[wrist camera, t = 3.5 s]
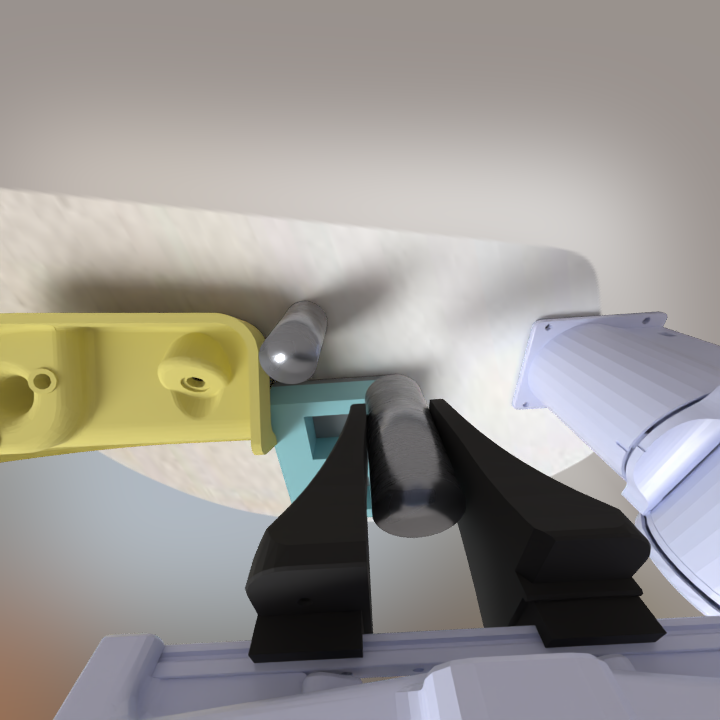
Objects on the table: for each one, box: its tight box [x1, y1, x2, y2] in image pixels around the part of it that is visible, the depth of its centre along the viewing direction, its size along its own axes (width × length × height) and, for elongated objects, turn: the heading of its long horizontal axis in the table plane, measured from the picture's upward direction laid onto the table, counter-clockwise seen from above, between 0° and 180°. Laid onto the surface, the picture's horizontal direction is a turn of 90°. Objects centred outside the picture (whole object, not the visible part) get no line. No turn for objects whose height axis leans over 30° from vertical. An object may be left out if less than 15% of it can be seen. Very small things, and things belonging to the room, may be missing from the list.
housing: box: [270, 375, 386, 517], centre depth 23 cm, size 10×14×3 cm
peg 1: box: [259, 301, 328, 384], centre depth 16 cm, size 3×3×6 cm
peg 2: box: [365, 374, 466, 538], centre depth 11 cm, size 3×3×6 cm
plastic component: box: [0, 313, 277, 463], centre depth 18 cm, size 20×7×10 cm
